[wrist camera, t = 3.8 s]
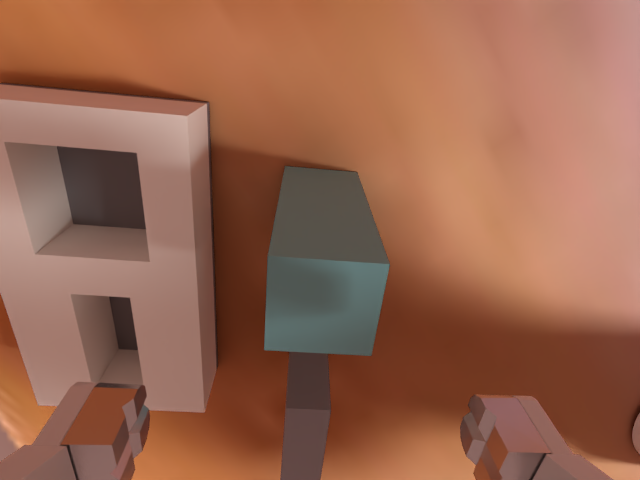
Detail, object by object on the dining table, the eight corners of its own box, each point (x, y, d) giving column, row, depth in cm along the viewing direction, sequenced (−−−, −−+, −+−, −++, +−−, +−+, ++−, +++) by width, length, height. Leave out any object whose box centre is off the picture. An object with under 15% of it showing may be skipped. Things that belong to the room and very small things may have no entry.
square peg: (357, 172, 22) (389, 264, 13) (348, 236, 24) (371, 355, 15) (285, 166, 22) (267, 255, 13) (281, 231, 23) (264, 350, 14)
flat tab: (324, 293, 25) (331, 410, 17) (317, 356, 28) (319, 484, 20) (293, 291, 25) (286, 408, 17) (289, 355, 28) (280, 483, 20)
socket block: (208, 101, 20) (186, 116, 16) (218, 365, 28) (204, 412, 24) (2, 82, 19) (-67, 93, 16) (73, 357, 27) (38, 405, 24)
